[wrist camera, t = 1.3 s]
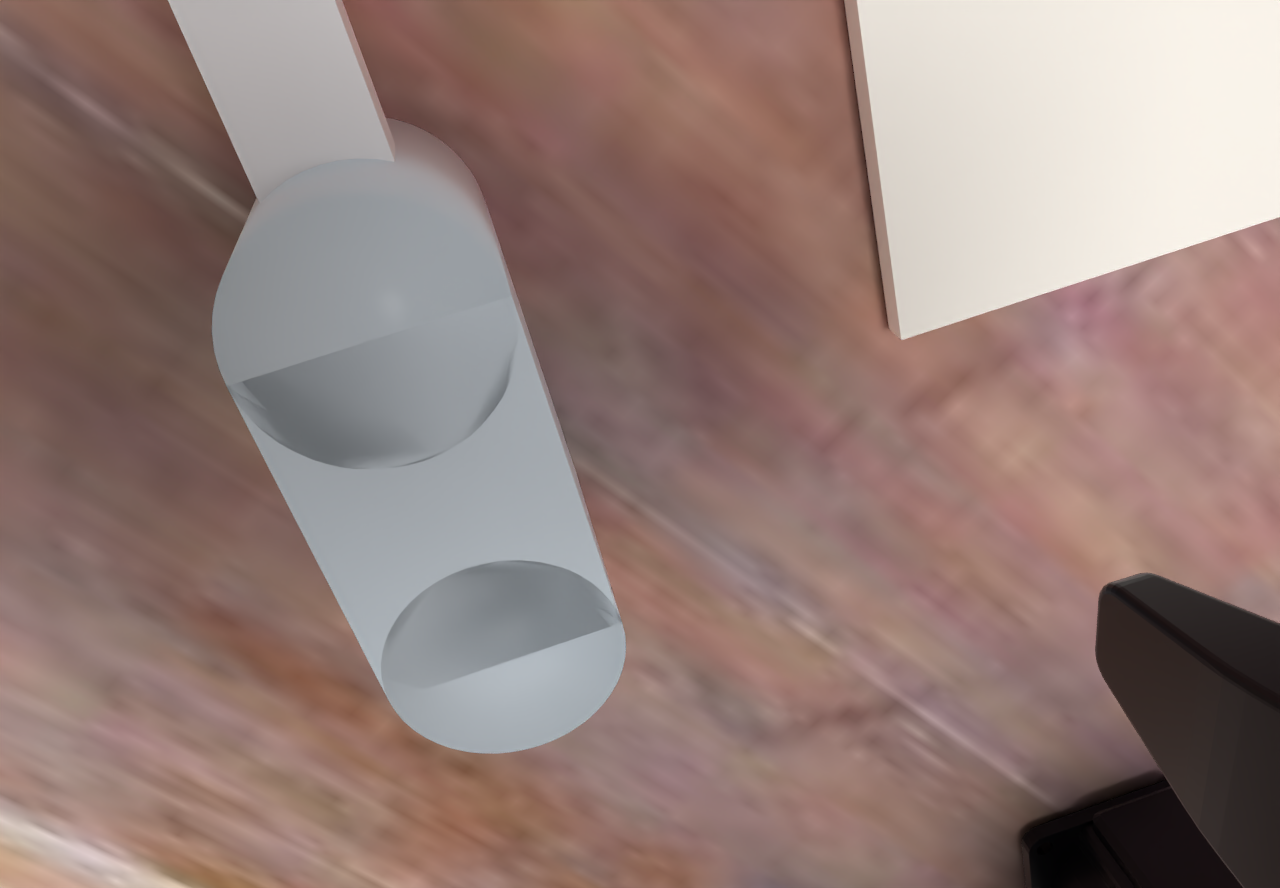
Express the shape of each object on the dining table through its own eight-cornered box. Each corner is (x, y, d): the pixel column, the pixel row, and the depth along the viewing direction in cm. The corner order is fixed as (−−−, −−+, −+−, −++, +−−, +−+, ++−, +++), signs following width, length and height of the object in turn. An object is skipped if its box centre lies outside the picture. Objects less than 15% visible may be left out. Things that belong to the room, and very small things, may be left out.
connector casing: (601, 549, 23) (650, 707, 18) (424, 608, 22) (431, 782, 18) (388, -89, 16) (385, -78, 12) (135, -16, 16) (39, 24, 12)
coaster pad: (1334, 184, 22) (1357, 191, 21) (889, 329, 21) (901, 340, 21) (1393, -406, 17) (1424, -416, 16) (811, -236, 16) (825, -240, 16)
